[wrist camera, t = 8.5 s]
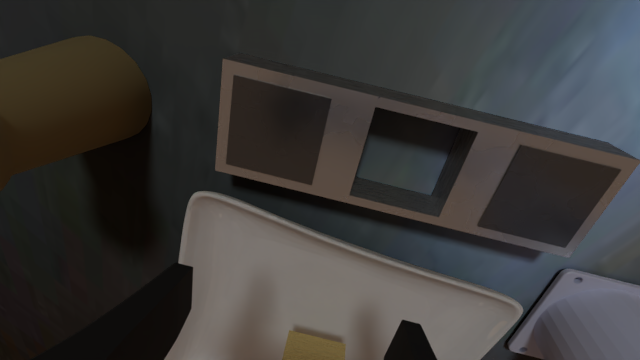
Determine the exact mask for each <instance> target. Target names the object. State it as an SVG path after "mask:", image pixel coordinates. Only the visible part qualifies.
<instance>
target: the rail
mask: <svg viewBox="0 0 640 360" xmlns="http://www.w3.org/2000/svg"><path fill="white" fill-rule="evenodd" d="M375 107H378V108H382V109H386V110H390V111H394V112H398V113H402V114H406V115H410V116H414V117H419V118H423V119H427V120H431V121H435V122H439V123H443V124H447V125H451V126H455V127H459V128H460V130H459V133H458V135H457V137H456V140H455V142H454V144H453V146H452V149H451V151H450V153H449V156H448V158H447V160H446V163H445V165H444V167H443V169H442V172H441V174H440V176H439V179H438V181H437V183H436V186H435V188H434V190H433V193H432V195H431V196H430V195H426V194H422V193H418V192H414V191H410V190H406V189H402V188H398V187H394V186H390V185H386V184H382V183H378V182H374V181H370V180H366V179H362V178H357V177H355V174H356V171H357V167H358V164H359V161H360V157H361V154H362V151H363V147H364V144H365V140H366V137H367V134H368V130H369V127H370V124H371V120H372V117H373V113H374V110H375ZM639 163H640V160H639V159H637V158H635V157H633V156H631V155H630V154H628V153H626V152H624V151H622V150H621V149H619V148H617V147H615V146H613V145H612V144H610V143H608V142H604V141H600V140H596V139H591V138H587V137H583V136H579V135H575V134H571V133H567V132H563V131H559V130H555V129H550V128H546V127H542V126H538V125H534V124H530V123H526V122H522V121H518V120H514V119H510V118H505V117H501V116H497V115H493V114H489V113H485V112H481V111H477V110H473V109H469V108H464V107H460V106H456V105H452V104H448V103H444V102H440V101H436V100H432V99H428V98H423V97H419V96H415V95H411V94H407V93H403V92H399V91H395V90H391V89H387V88H382V87H378V86H374V85H370V84H366V83H362V82H358V81H354V80H350V79H346V78H341V77H337V76H333V75H329V74H325V73H321V72H317V71H313V70H309V69H305V68H300V67H296V66H292V65H288V64H284V63H280V62H276V61H272V60H268V59H264V58H260V57H255V56H251V55H247V54H243V53H238V54H235V55H232V56H229V57H226V58H223V65H222V79H221V94H220V108H219V122H218V137H217V151H216V165H215V170H216V171H220V172H224V173H228V174H232V175H236V176H240V177H244V178H248V179H252V180H256V181H260V182H264V183H268V184H272V185H276V186H280V187H285V188H289V189H293V190H297V191H301V192H305V193H309V194H313V195H317V196H321V197H325V198H329V199H333V200H337V201H341V202H345V203H349V204H353V205H357V206H361V207H365V208H369V209H373V210H377V211H381V212H385V213H389V214H393V215H398V216H402V217H406V218H410V219H414V220H418V221H422V222H426V223H430V224H434V225H438V226H442V227H446V228H450V229H454V230H458V231H462V232H466V233H470V234H474V235H478V236H482V237H486V238H490V239H494V240H498V241H502V242H506V243H511V244H515V245H519V246H523V247H527V248H531V249H535V250H539V251H543V252H547V253H551V254H555V255H559V256H563V257H567V258H569V257H570V256H571V255H572V253H573V252H574V251H575V249H576V248H577V246H578V245H579V244H580V242H581V241H582V240H583V238H584V237H585V236H586V234H587V233H588V232H589V230H590V229H591V228H592V226H593V225H594V224H595V222H596V221H597V220H598V218H599V217H600V216H601V214H602V213H603V211H604V210H605V209H606V207H607V206H608V205H609V203H610V202H611V201H612V199H613V198H614V197H615V195H616V194H617V193H618V191H619V190H620V189H621V187H622V186H623V185H624V183H625V182H626V180H627V179H628V178H629V176H630V175H631V174H632V172H633V171H634V170H635V168H636V167H637V166H638V164H639Z"/></svg>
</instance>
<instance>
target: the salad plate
mask: <svg viewBox="0 0 640 360" xmlns="http://www.w3.org/2000/svg"><path fill="white" fill-rule="evenodd" d="M178 263H179V264H183V265H187V266H191V267H193V285H192V309H191V311H190V313H189V315H188V317H187V319H186V321H185V324H184V326H183V328H182V330H181V332H180V334H179V336H178V338H177V340H176V341H175V343H174V345H173V346H172V348H171V349H170V351H169V353H168V354H167V356H166V358H165V359H164V360H282V358H283V354H284V349H285V345H286V341H287V337H288V333H289V330H291V331H295V332H299V333H303V334H307V335H311V336H315V337H320V338H324V339H328V340H332V341H336V342H340V343H344V344H346V349H345V360H384V356H385V354H386V352H387V350H388V348H389V345H390V343H391V341H392V339H393V337H394V335H395V333H396V331H397V329H398V327H399V325H400V323H401V321H402V320H406V321H410V322H414V323H418V324H420V325H421V326H422V328H423V330H424V333H425V335H426V337H427V339H428V341H429V343H430V345H431V348H432V350H433V352H434V354H435V356H436V358H437V360H481V358H482V357H483V356H484V355H485V354H486V353H487V352H488V351H489V350H490V349H491V348H492V347H493V346H494V345H495V344H496V343H497V342H498V341H499V340H500V339H501V338H502V337H503V336H504V335H505V333H506V332H507V331H508V330H509V329H510V328H511V327H512V326H513V325H514V324H515V323H516V321H517V320H518V319H519V318H520V316H521V315H522V313H523V308H522V306H521V305H520V304H519V303H518V302H517V301H516V300H514V299H513V298H511V297H509V296H507V295H505V294H502V293H500V292H497V291H495V290H492V289H490V288H487V287H484V286H480V285H477V284H474V283H471V282H468V281H464V280H461V279H458V278H454V277H451V276H448V275H444V274H441V273H438V272H435V271H432V270H428V269H425V268H422V267H419V266H416V265H413V264H410V263H407V262H404V261H401V260H397V259H394V258H391V257H389V256H386V255H383V254H380V253H377V252H374V251H371V250H368V249H366V248H363V247H360V246H357V245H354V244H351V243H349V242H346V241H343V240H340V239H337V238H335V237H332V236H329V235H327V234H324V233H321V232H319V231H316V230H313V229H311V228H308V227H305V226H303V225H300V224H298V223H295V222H293V221H290V220H287V219H285V218H282V217H280V216H277V215H275V214H273V213H270V212H268V211H266V210H263V209H261V208H258V207H256V206H254V205H251V204H249V203H247V202H244V201H242V200H239V199H236V198H234V197H231V196H228V195H224V194H221V193H217V192H210V191H200V192H196V193H194V194H193V195H192V197H191V198H190V200H189V203H188V206H187V210H186V214H185V220H184V225H183V231H182V238H181V246H180V254H179V262H178Z"/></svg>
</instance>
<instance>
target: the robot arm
mask: <svg viewBox="0 0 640 360" xmlns="http://www.w3.org/2000/svg"><path fill="white" fill-rule="evenodd" d="M577 277H578V278H577ZM575 278H577V279H575ZM192 285H193V267H191V266H187V265H183V264H179V263H174V264H172V265H171V266H170V267H168V268H167V269H166V270H165V271H163V272H162V273H161V274H159V275H158V276H157V277H155V278H154V279H153V280H152V281H150V282H149V283H148V284H146V285H145V286H144V287H142V288H141V289H140V290H138V291H137V292H136V293H134V294H133V295H131V296H130V297H129V298H127V299H126V300H124V301H123V302H122V303H120V304H119V305H117V306H116V307H115V308H113V309H112V310H110V311H109V312H107V313H106V314H104V315H103V316H101V317H100V318H98V319H97V320H95V321H94V322H92V323H91V324H89V325H87V326H86V327H84V328H83V329H81V330H80V331H78V332H77V333H75V334H73V335H72V336H70V337H68V338H67V339H65V340H63V341H62V342H60V343H58V344H57V345H55V346H53V347H51V348H50V349H48V350H46V351H44V352H43V353H41V354H39V355H37V356H35V357H34V358H32V359H30V360H164V359H165V358H166V356H167V354H168V353H169V351H170V349H171V348H172V346H173V345H174V343H175V341H176V340H177V338H178V336H179V334H180V332H181V330H182V328H183V326H184V324H185V321H186V319H187V317H188V315H189V313H190V311H191V309H192ZM507 345H508V347H509V349H510V350H511V351H513V352H516V353H520V354H524V355H528V356H532V357H536V358H540V359H544V360H640V286H639V285H635V284H631V283H627V282H622V281H618V280H614V279H610V278H606V277H602V276H598V275H594V274H590V273H586V272H582V271H578V270H574V269H564V270H562V271H561V272H560V273H559V274H558V276H557V277H556V278H555V280H554V281H553V282H552V284H551V285H550V286H549V288H548V289H547V290H546V292H545V293H544V294H543V296H542V297H541V299H540V300H539V301H538V303H537V304H536V305H535V307H534V308H533V309H532V311H531V312H530V313H529V315H528V316H527V317H526V319H525V320H524V321H523V323H522V324H521V325H520V327H519V328H518V329H517V331H516V332H515V333H514V335H513V336H512V337H511V339H510V340H509V341H508V343H507ZM384 360H437V358H436V356H435V354H434V352H433V350H432V348H431V345H430V343H429V341H428V339H427V337H426V335H425V333H424V330H423V328H422V326H421V325H420V324H418V323H414V322H410V321H406V320H402V321H401V323H400V325H399V327H398V329H397V331H396V333H395V335H394V337H393V339H392V341H391V343H390V345H389V348H388V350H387V352H386V354H385V356H384Z"/></svg>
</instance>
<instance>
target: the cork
mask: <svg viewBox="0 0 640 360" xmlns="http://www.w3.org/2000/svg"><path fill="white" fill-rule="evenodd" d="M151 111H152V108H151V93H150V90H149V87H148V84H147V80H146V78H145V77H144V75H143V73H142V72H141V70H140V68H139V67H138V65H137V64H136V62H135V61H134V60H133V59H132V58H131V57H130V56H129V55H128V54H127V53H126V52H125V51H124V50H123V49H121V48H119V47H118V46H116V45H114V44H113V43H111V42H109V41H108V40H105V39H102V38H98V37H94V36H90V35H89V36H80V37H73V38H70V39H66V40H63V41H60V42H56V43H53V44H50V45H46V46H43V47H40V48H36V49H33V50H30V51H26V52H23V53H20V54H16V55H13V56H10V57H6V58H3V59H0V191H2V189H3V188H4V187H5V185H6V184H7V182H8V181H9V180H10V177H11V175H14V174H17V173H21V172H24V171H27V170H30V169H33V168H36V167H39V166H42V165H46V164H49V163H52V162H55V161H58V160H61V159H64V158H67V157H71V156H74V155H77V154H80V153H83V152H86V151H89V150H92V149H96V148H99V147H102V146H105V145H108V144H111V143H114V142H117V141H121V140H124V139H127V138H129V137H131V136H134V135H136V134H138V133H139V132H140V131H141V130H142V129H143V128H144V127H145V126H146V125H147V123H148V120H149V117H150V114H151Z"/></svg>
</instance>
